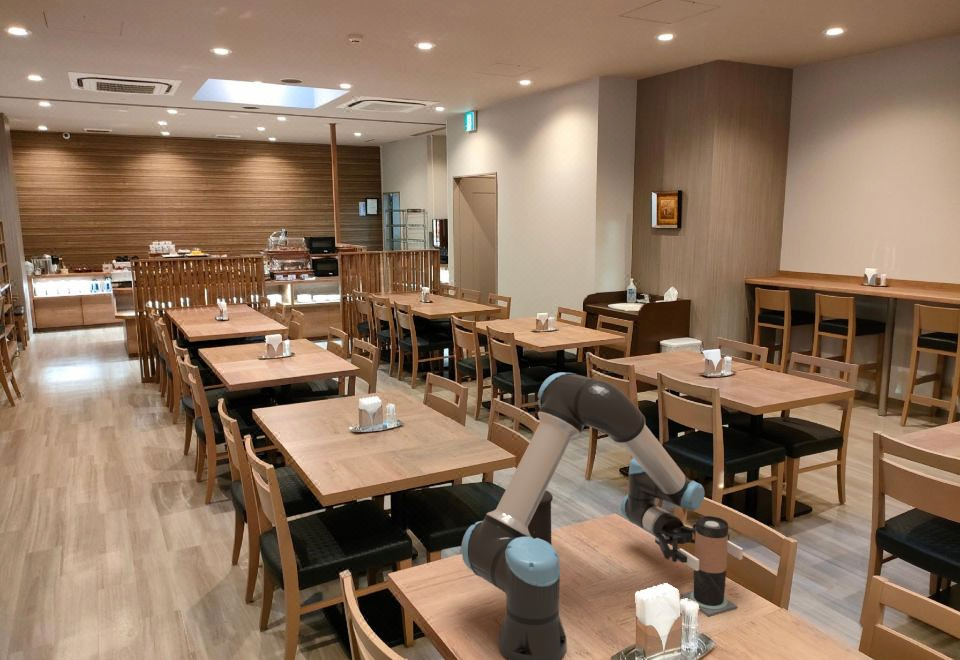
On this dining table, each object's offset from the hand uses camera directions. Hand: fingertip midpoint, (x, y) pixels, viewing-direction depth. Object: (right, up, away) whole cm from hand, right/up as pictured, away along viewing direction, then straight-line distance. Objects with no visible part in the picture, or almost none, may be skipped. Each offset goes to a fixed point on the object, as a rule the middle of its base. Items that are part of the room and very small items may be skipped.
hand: (720, 559), depth 164 cm
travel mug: (-1, -11, +5) cm, 12 cm away
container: (-42, -10, +27) cm, 51 cm away
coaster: (-1, -12, +5) cm, 13 cm away
